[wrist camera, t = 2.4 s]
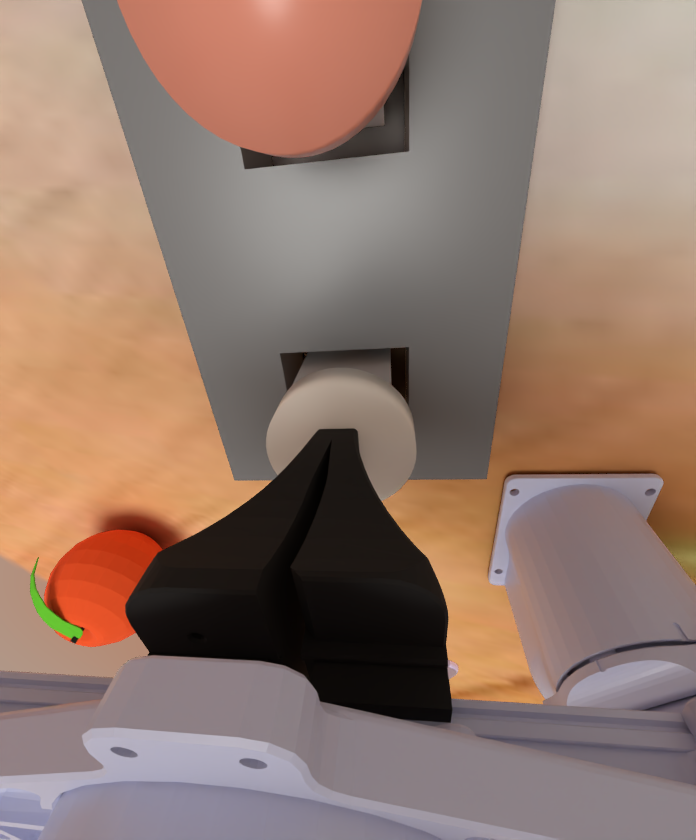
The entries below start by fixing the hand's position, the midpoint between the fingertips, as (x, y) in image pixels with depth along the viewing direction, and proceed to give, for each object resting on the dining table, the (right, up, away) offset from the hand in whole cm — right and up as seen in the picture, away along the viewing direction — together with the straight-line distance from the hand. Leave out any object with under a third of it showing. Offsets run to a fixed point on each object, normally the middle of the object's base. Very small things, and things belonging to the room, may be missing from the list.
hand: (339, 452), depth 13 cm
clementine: (-15, -7, +14) cm, 22 cm away
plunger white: (0, +3, +4) cm, 5 cm away
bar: (0, +8, +3) cm, 9 cm away
